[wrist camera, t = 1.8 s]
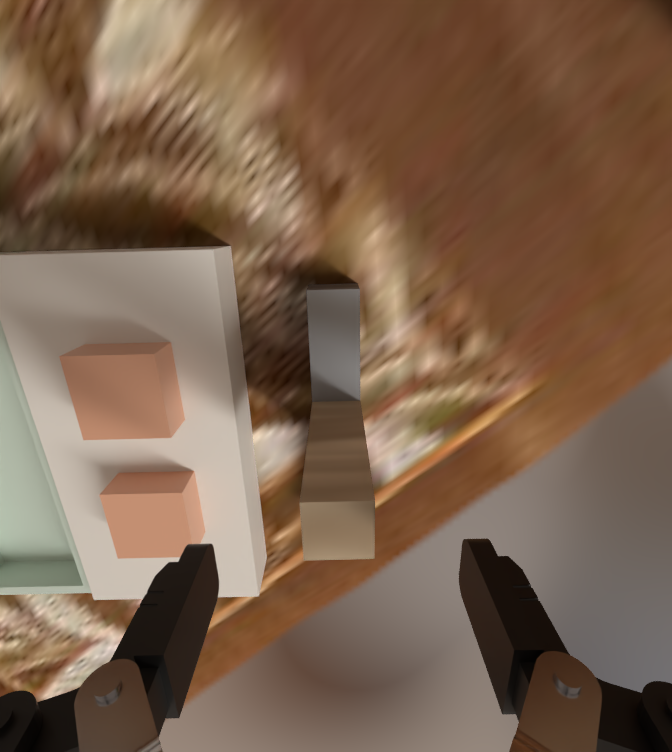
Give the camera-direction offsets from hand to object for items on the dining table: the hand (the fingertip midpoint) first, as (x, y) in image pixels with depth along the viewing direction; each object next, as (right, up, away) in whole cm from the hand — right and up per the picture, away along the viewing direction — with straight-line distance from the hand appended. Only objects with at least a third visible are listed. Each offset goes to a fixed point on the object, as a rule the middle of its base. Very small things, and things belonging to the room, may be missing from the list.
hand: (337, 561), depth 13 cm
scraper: (0, +4, +10) cm, 11 cm away
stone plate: (-10, +3, +10) cm, 15 cm away
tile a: (-10, +6, +6) cm, 13 cm away
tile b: (-9, -1, +9) cm, 13 cm away
